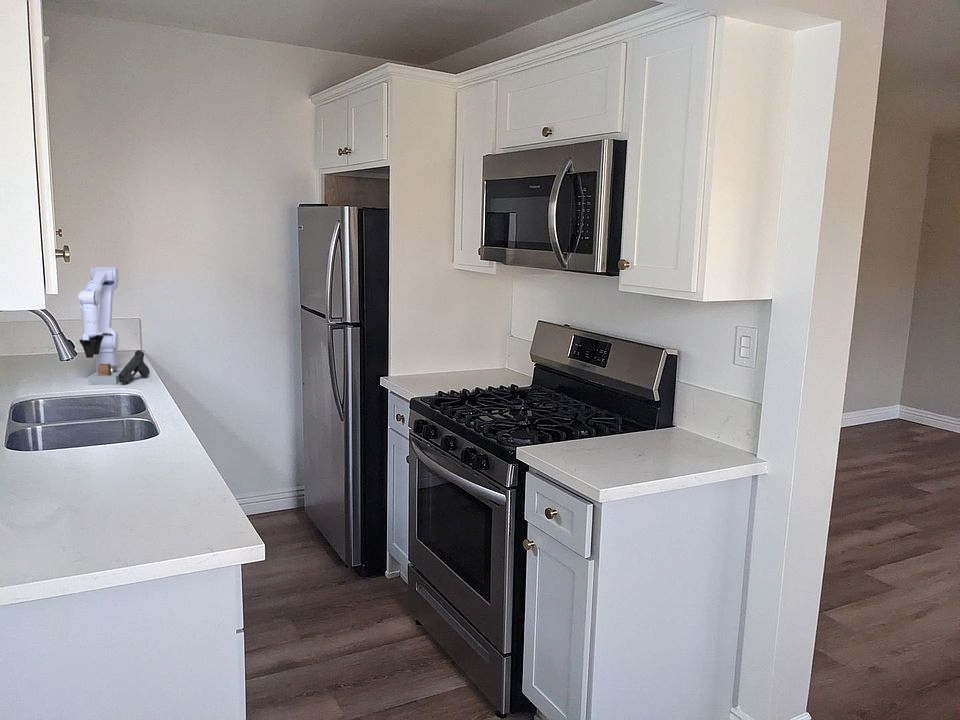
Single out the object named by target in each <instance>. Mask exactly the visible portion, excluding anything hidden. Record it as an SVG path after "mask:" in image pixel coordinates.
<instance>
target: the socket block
mask: <svg viewBox="0 0 960 720" xmlns="http://www.w3.org/2000/svg"><path fill="white" fill-rule="evenodd" d="M120 372H121V371H120ZM120 372H119V371H118V372H111V375H110V376H98V373H94V372H93V373H94V374H93V373H92V374H91V375H89V376H87V383H91V384H90V385H118V384H119V383H120V382H119V377H118V376H119V373H120Z"/></svg>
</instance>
